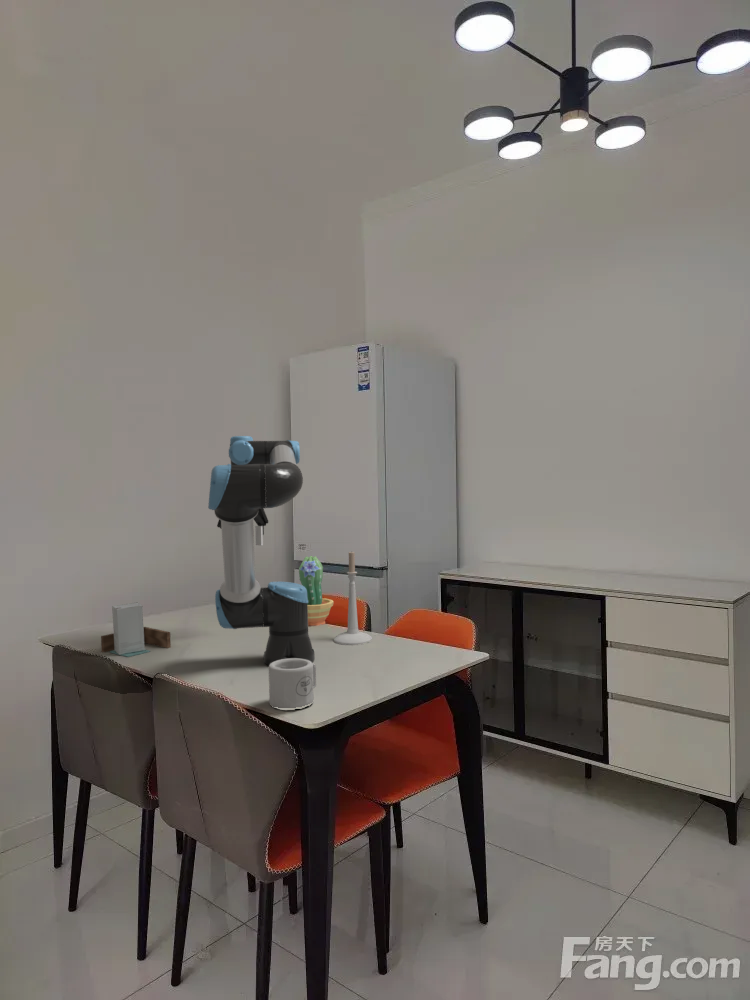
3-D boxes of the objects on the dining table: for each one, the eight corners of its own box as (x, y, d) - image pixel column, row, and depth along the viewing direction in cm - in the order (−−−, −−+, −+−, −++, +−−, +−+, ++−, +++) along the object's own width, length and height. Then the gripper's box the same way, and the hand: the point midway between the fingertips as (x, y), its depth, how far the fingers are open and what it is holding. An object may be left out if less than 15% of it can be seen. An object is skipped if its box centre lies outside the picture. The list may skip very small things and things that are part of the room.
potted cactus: (284, 624, 257) (282, 557, 256) (310, 616, 269) (309, 552, 268) (316, 629, 248) (315, 559, 247) (342, 621, 260) (341, 555, 259)
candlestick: (329, 637, 235) (328, 549, 234) (365, 634, 239) (364, 548, 238) (339, 646, 223) (337, 554, 222) (377, 643, 227) (375, 551, 226)
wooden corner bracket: (170, 647, 225) (170, 632, 225) (126, 658, 213) (126, 642, 212) (145, 641, 234) (144, 626, 234) (101, 651, 221) (101, 636, 221)
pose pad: (150, 651, 220) (150, 650, 220) (127, 657, 214) (127, 656, 214) (132, 647, 226) (132, 646, 226) (109, 652, 220) (109, 651, 220)
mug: (289, 714, 161) (288, 672, 161) (260, 705, 168) (259, 664, 168) (331, 700, 171) (330, 660, 171) (301, 691, 179) (300, 652, 178)
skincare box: (139, 647, 225) (138, 601, 224) (145, 651, 220) (143, 604, 219) (113, 651, 220) (111, 604, 219) (117, 655, 215) (116, 607, 214)
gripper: (262, 482, 241) (264, 543, 242) (205, 484, 221) (206, 550, 222) (277, 482, 236) (279, 544, 237) (220, 484, 217) (222, 551, 218)
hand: (244, 547), depth 230 cm, fingers open, 13 cm apart
